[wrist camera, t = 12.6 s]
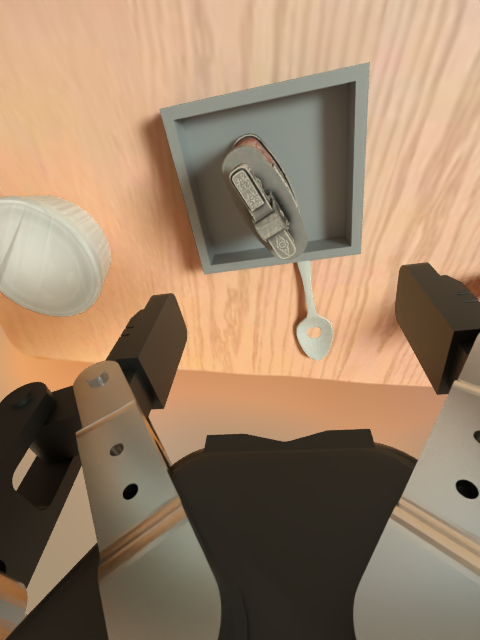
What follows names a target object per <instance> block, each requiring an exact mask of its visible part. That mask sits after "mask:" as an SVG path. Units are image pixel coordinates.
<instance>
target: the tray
mask: <svg viewBox="0 0 480 640" xmlns="http://www.w3.org/2000/svg"><path fill="white" fill-rule="evenodd" d="M369 66H370V62H368V63H364V64H359V65H355V66H350V67H346V68H341V69H337V70H332V71H328V72H323V73H319V74H314V75H310V76H305V77H301V78H296V79H292V80H287V81H283V82H278V83H274V84H269V85H265V86H261V87H256V88H252V89H247V90H243V91H238V92H234V93H229V94H225V95H220V96H216V97H211V98H207V99H202V100H198V101H193V102H189V103H184V104H180V105H175V106H171V107H166V108H162V109H160V113H161V117H162V120H163V124H164V128H165V131H166V135H167V139H168V142H169V146H170V150H171V153H172V157H173V161H174V165H175V168H176V172H177V176H178V179H179V183H180V187H181V190H182V194H183V198H184V201H185V205H186V209H187V213H188V216H189V220H190V224H191V227H192V231H193V235H194V238H195V242H196V246H197V249H198V253H199V257H200V260H201V264H202V268H203V272H204V274H211V273H219V272H226V271H234V270H241V269H249V268H257V267H264V266H272V265H280V264H287V263H295V262H302V261H310V260H318V259H325V258H333V257H341V256H348V255H356V254H361V239H362V217H363V196H364V174H365V153H366V131H367V110H368V88H369ZM249 133H252V134H256V135H257V136H259V137H260V138H261V139H262V140H263V142H264V143H265V144H266V145H267V146H268V147H269V149H270V150H271V151H272V152H273V153H274V155H275V157H276V158H277V160H278V161H279V163H280V164H281V166H282V167H283V169H284V170H285V172H286V175H287V177H288V179H289V181H290V183H291V185H292V188H293V190H294V193H295V197H296V200H297V203H298V206H299V212H300V215H301V219H302V222H303V225H304V228H305V231H306V234H307V239H308V244H307V247H306V249H305V250H304V252H303V253H302V254H301V255H299V256H298V257H296V258H294V259H291V260H281V259H278V258H276V257H275V256H274V255H273V254H272V253H271V252H270V251H269V250H268V249H267V248H266V247H265V246H264V245H263V244H262V243H261V242H260V241H259V240H258V238H257V237H256V236H255V235H254V233H253V232H252V231H251V229H250V228H249V227H248V226H247V224H246V223H245V221H244V220H243V218H242V216H241V214H240V213H239V211H238V209H237V207H236V206H235V204H234V202H233V200H232V198H231V195H230V193H229V191H228V188H227V186H226V184H225V181H224V179H223V176H222V164H223V162H224V160H225V158H226V156H227V155H228V153H229V152H230V151H231V150H232V148H233V146H234V144H235V142H236V141H237V140H238V138H239V137H241V136H242V135H244V134H249Z"/></svg>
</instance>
